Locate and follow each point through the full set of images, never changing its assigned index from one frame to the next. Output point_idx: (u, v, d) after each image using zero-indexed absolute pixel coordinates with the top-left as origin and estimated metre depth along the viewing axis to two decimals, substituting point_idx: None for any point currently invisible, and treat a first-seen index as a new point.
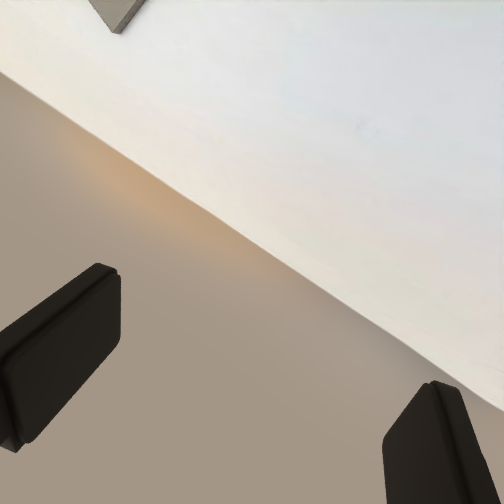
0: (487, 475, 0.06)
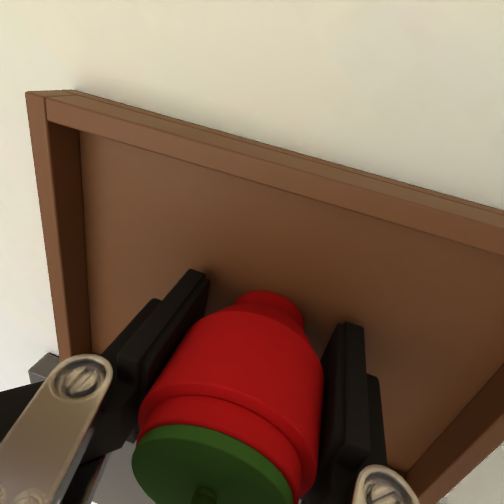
0: (365, 384, 0.08)
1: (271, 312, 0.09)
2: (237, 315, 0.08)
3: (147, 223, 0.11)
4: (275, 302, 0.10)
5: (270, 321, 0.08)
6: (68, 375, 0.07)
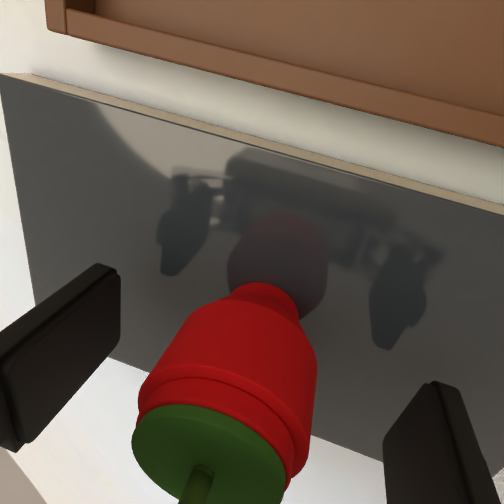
0: (487, 475, 0.06)
1: (266, 302, 0.09)
2: (233, 304, 0.09)
3: None
4: (270, 293, 0.10)
5: (264, 309, 0.09)
6: None
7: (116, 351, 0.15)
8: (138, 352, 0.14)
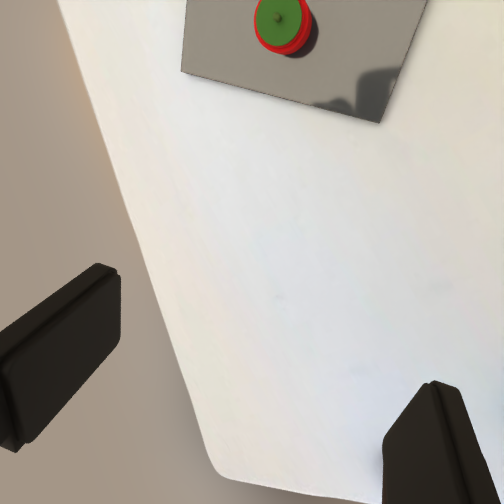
0: (487, 475, 0.06)
1: None
2: None
3: None
4: None
5: None
6: None
7: (219, 74, 0.32)
8: (231, 71, 0.31)
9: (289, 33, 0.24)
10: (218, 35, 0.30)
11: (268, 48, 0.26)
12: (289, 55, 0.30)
